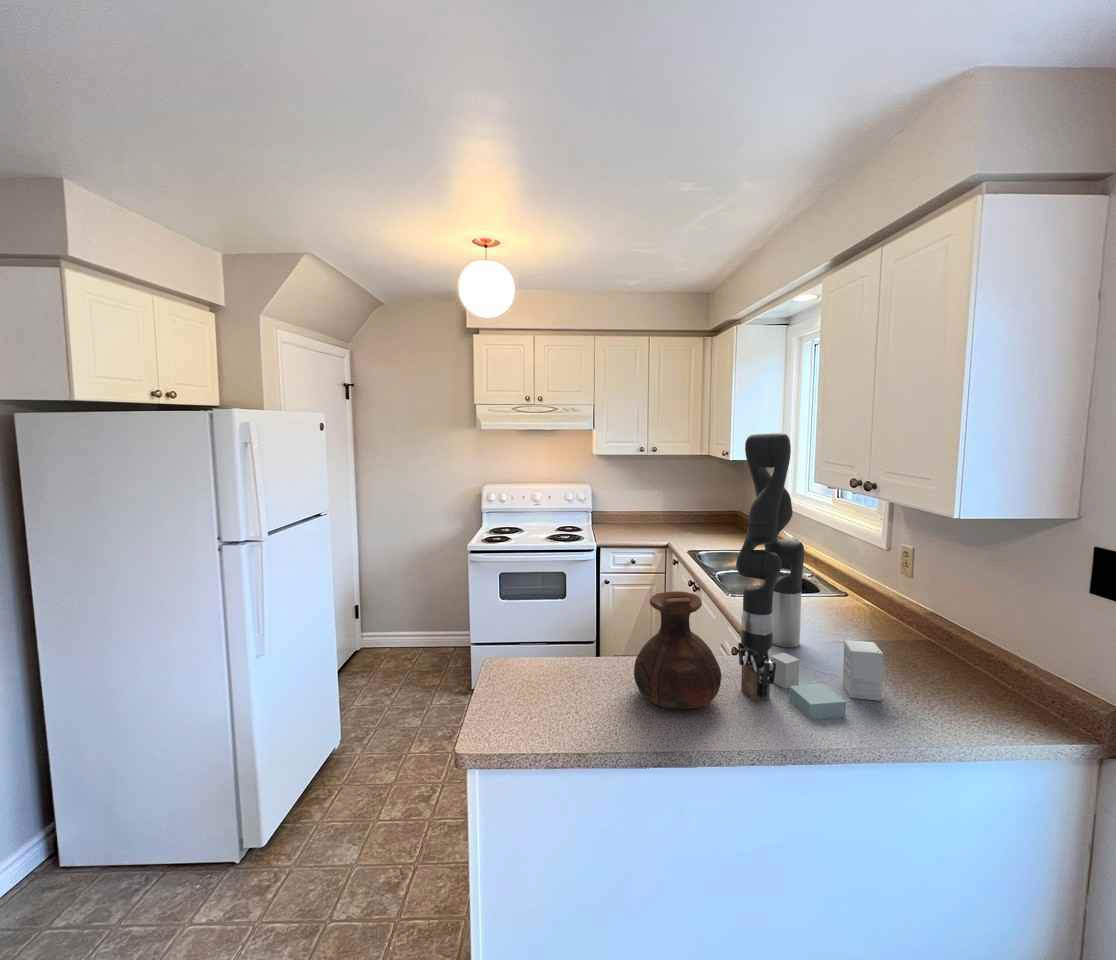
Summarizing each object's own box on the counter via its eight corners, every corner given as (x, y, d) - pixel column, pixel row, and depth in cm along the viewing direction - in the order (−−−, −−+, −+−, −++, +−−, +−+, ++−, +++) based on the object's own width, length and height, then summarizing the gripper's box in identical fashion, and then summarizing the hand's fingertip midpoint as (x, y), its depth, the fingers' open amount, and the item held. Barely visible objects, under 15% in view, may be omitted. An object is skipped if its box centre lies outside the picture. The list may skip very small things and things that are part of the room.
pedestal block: (788, 700, 133) (789, 685, 133) (822, 698, 134) (822, 683, 134) (809, 720, 124) (810, 704, 124) (845, 717, 125) (845, 701, 125)
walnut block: (741, 690, 138) (741, 665, 137) (758, 688, 139) (759, 663, 138) (751, 700, 133) (752, 673, 132) (769, 698, 134) (770, 671, 133)
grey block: (770, 680, 143) (770, 656, 142) (783, 676, 145) (784, 652, 145) (785, 688, 139) (786, 663, 138) (798, 684, 141) (799, 659, 140)
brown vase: (615, 696, 136) (615, 583, 133) (668, 671, 149) (669, 568, 146) (685, 733, 119) (687, 605, 116) (737, 701, 133) (740, 585, 130)
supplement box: (872, 687, 139) (874, 641, 137) (881, 702, 132) (884, 653, 130) (841, 684, 141) (843, 638, 139) (848, 698, 134) (851, 650, 132)
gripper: (729, 618, 141) (727, 679, 142) (759, 639, 127) (757, 706, 128) (754, 616, 142) (753, 676, 144) (787, 637, 128) (785, 703, 130)
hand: (755, 690), depth 136 cm, fingers open, 5 cm apart
